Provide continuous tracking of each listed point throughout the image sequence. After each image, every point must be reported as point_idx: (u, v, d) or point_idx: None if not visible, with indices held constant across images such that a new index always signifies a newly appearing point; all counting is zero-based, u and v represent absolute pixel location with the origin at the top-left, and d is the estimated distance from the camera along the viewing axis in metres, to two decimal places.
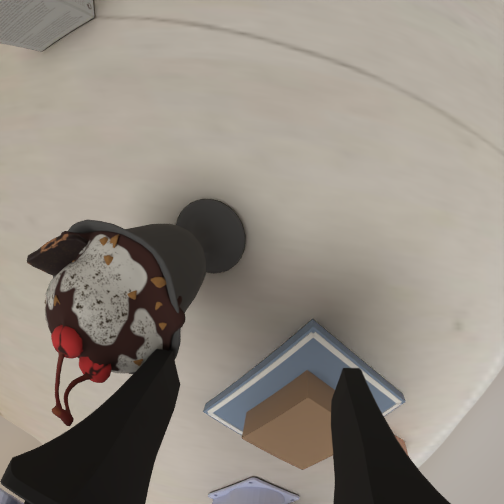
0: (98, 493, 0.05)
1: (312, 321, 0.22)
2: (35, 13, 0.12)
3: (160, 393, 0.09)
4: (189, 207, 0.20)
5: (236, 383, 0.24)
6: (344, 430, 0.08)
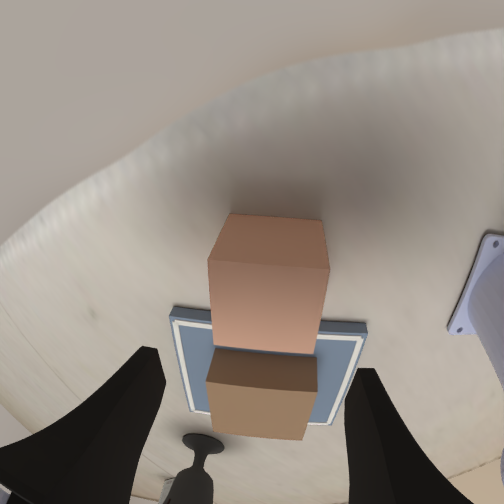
0: (78, 485, 0.05)
1: None
2: None
3: (144, 389, 0.09)
4: None
5: None
6: (360, 430, 0.08)
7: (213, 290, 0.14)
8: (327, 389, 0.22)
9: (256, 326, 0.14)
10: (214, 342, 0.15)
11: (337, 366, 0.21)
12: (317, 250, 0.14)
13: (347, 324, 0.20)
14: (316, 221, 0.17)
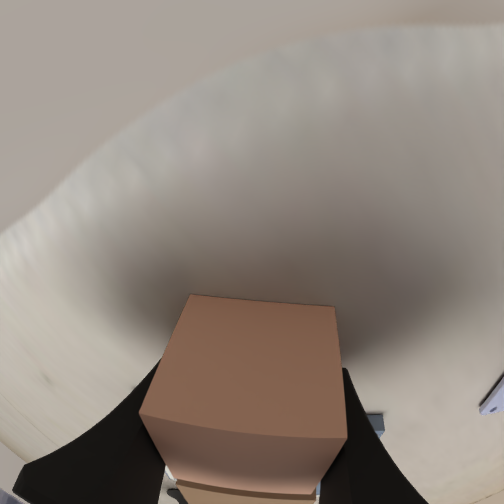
0: (114, 499, 0.05)
1: None
2: None
3: None
4: None
5: None
6: None
7: (158, 441, 0.07)
8: None
9: (229, 475, 0.08)
10: (174, 476, 0.09)
11: None
12: (328, 389, 0.07)
13: None
14: (326, 311, 0.10)
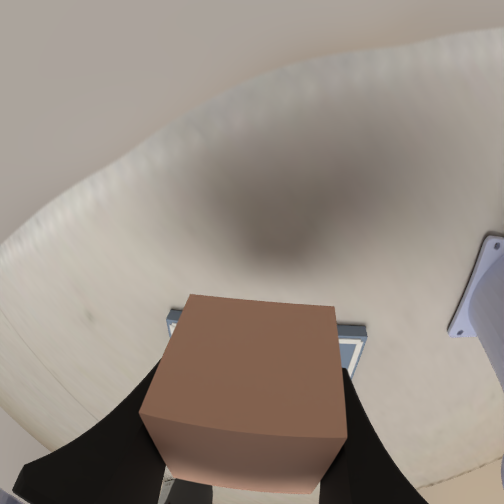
0: (114, 499, 0.05)
1: None
2: None
3: None
4: None
5: None
6: None
7: (158, 441, 0.07)
8: None
9: (229, 474, 0.08)
10: (174, 476, 0.09)
11: None
12: (328, 389, 0.07)
13: (346, 327, 0.19)
14: (326, 311, 0.10)
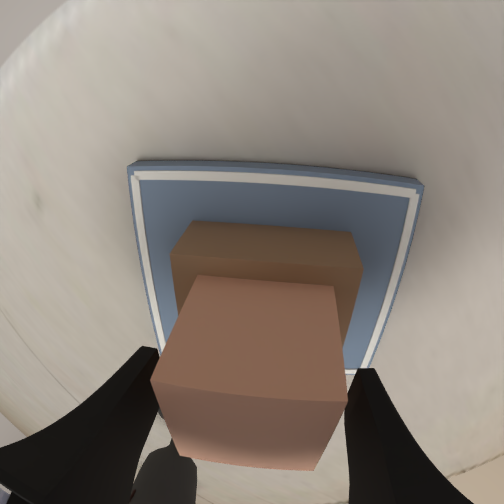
0: (78, 485, 0.05)
1: None
2: None
3: (144, 390, 0.09)
4: None
5: None
6: (360, 430, 0.08)
7: (167, 412, 0.08)
8: (365, 301, 0.15)
9: (234, 448, 0.09)
10: (180, 454, 0.10)
11: (381, 252, 0.14)
12: (328, 358, 0.08)
13: (391, 176, 0.13)
14: (326, 289, 0.11)
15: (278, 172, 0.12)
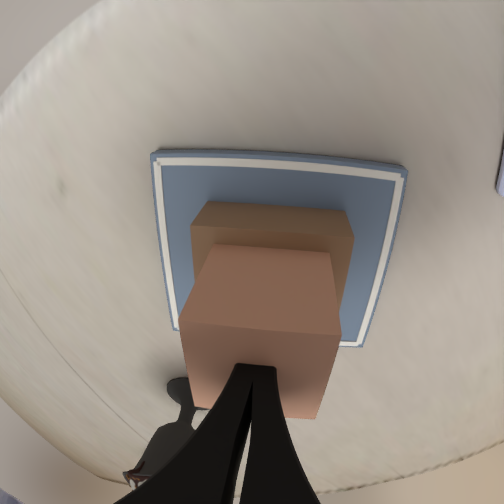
0: None
1: None
2: None
3: (248, 407, 0.09)
4: None
5: None
6: None
7: (188, 353, 0.10)
8: (359, 274, 0.17)
9: None
10: (195, 404, 0.12)
11: (372, 229, 0.16)
12: (325, 303, 0.10)
13: (380, 163, 0.15)
14: (323, 255, 0.13)
15: (282, 159, 0.15)
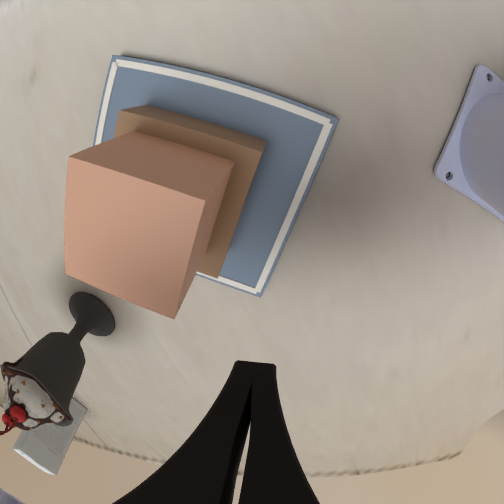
0: None
1: None
2: None
3: (248, 407, 0.09)
4: None
5: None
6: None
7: (69, 199, 0.10)
8: (269, 211, 0.18)
9: (109, 260, 0.11)
10: (66, 270, 0.11)
11: (290, 166, 0.16)
12: (204, 181, 0.10)
13: (314, 108, 0.15)
14: (227, 161, 0.13)
15: (220, 79, 0.14)
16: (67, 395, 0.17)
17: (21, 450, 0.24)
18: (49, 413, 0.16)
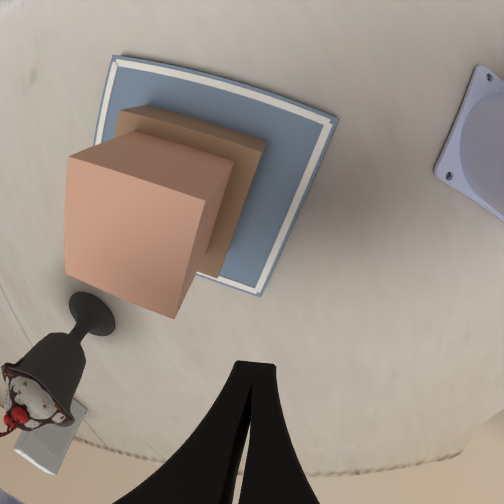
0: None
1: None
2: None
3: (248, 407, 0.09)
4: None
5: None
6: None
7: (69, 199, 0.10)
8: (269, 211, 0.18)
9: (109, 260, 0.11)
10: (66, 270, 0.11)
11: (290, 166, 0.16)
12: (204, 181, 0.10)
13: (314, 108, 0.15)
14: (227, 161, 0.13)
15: (220, 79, 0.14)
16: (68, 395, 0.18)
17: (21, 450, 0.24)
18: (51, 414, 0.16)
